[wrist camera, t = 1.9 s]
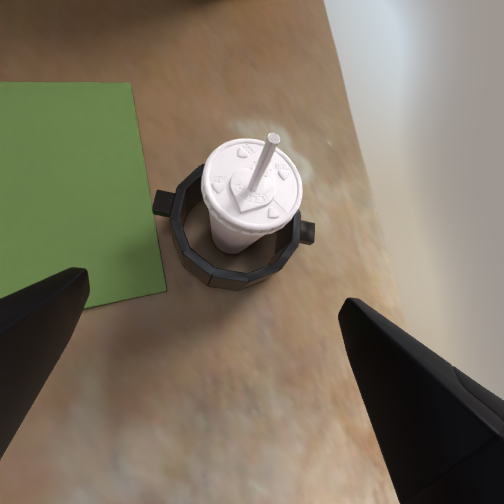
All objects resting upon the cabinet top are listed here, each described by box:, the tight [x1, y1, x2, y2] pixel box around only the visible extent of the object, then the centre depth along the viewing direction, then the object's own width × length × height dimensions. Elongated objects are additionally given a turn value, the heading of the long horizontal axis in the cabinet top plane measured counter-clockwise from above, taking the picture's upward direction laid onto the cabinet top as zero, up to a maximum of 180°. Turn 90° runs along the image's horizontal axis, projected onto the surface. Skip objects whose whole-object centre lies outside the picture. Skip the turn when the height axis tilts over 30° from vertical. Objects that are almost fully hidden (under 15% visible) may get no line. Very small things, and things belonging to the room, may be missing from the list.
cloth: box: [0, 82, 167, 309], centre depth 22 cm, size 22×15×1 cm
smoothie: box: [201, 133, 303, 254], centre depth 18 cm, size 6×6×14 cm
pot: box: [152, 164, 315, 291], centre depth 22 cm, size 10×13×4 cm
